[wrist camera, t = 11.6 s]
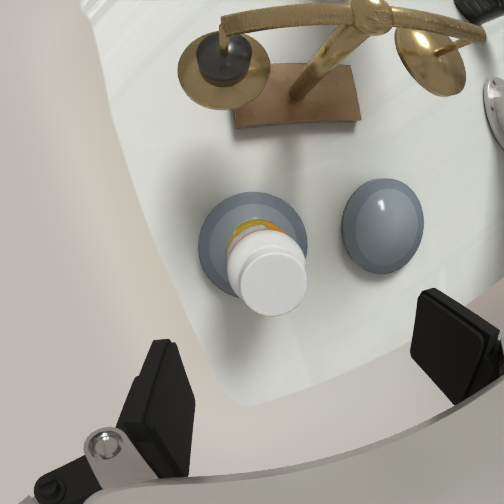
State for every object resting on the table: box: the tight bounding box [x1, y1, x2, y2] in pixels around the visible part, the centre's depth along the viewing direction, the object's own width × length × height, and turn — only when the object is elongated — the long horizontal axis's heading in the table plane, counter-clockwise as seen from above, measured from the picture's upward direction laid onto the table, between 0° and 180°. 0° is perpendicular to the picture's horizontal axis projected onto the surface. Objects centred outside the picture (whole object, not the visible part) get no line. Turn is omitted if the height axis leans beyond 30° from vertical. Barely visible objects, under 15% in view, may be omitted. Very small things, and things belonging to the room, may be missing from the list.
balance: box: [178, 0, 486, 129], centre depth 15 cm, size 20×6×18 cm, turn 98°
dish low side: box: [198, 192, 307, 298], centre depth 26 cm, size 10×10×1 cm
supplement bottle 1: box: [227, 219, 307, 316], centre depth 21 cm, size 5×5×10 cm
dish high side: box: [341, 179, 424, 274], centre depth 27 cm, size 10×10×1 cm
